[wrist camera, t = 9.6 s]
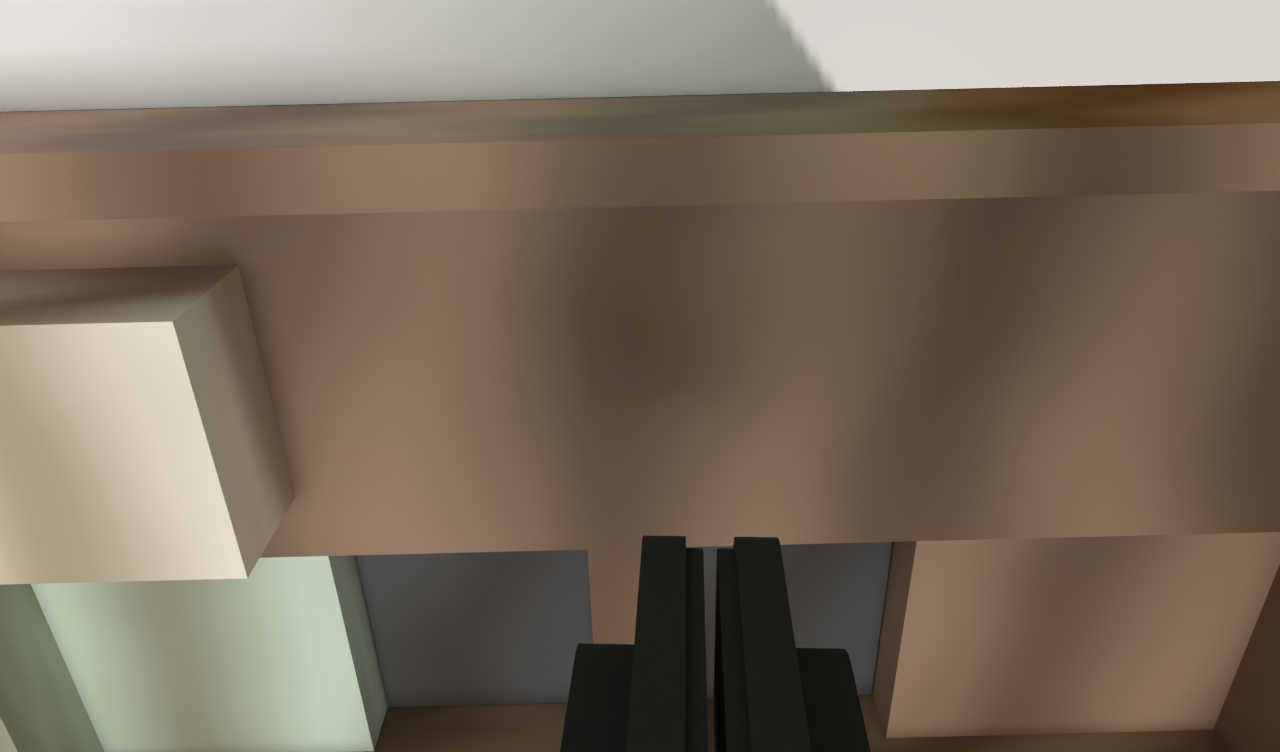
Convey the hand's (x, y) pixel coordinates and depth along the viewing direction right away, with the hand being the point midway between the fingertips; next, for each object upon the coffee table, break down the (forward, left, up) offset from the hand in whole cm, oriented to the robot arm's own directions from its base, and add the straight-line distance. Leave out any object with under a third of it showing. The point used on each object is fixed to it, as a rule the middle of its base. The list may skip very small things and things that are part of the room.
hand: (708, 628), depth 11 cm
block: (+10, 0, -7) cm, 12 cm away
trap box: (0, +3, -8) cm, 9 cm away
